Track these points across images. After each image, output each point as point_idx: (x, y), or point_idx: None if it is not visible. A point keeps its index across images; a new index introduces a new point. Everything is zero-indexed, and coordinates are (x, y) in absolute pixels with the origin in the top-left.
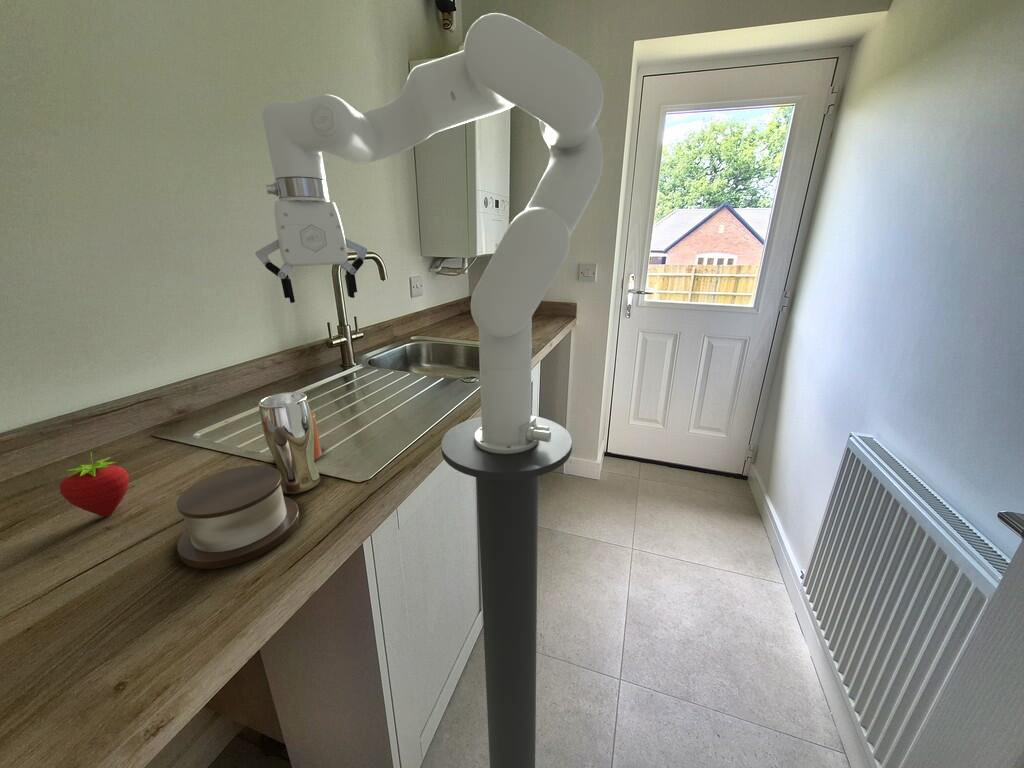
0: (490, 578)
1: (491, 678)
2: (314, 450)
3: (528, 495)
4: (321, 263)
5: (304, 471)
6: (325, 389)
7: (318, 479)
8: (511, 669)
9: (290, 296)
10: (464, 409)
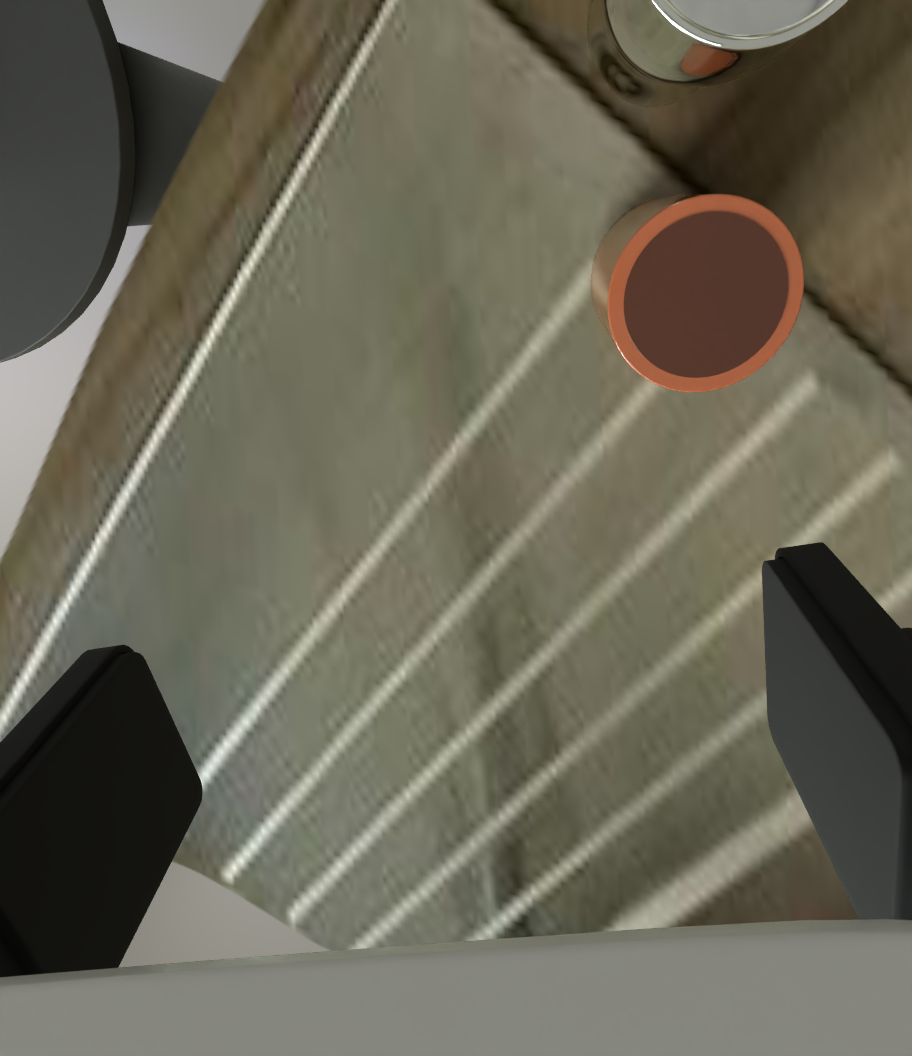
0: (205, 92)
1: None
2: (613, 232)
3: None
4: (180, 965)
5: None
6: (598, 876)
7: (591, 2)
8: None
9: (834, 578)
10: (61, 509)
